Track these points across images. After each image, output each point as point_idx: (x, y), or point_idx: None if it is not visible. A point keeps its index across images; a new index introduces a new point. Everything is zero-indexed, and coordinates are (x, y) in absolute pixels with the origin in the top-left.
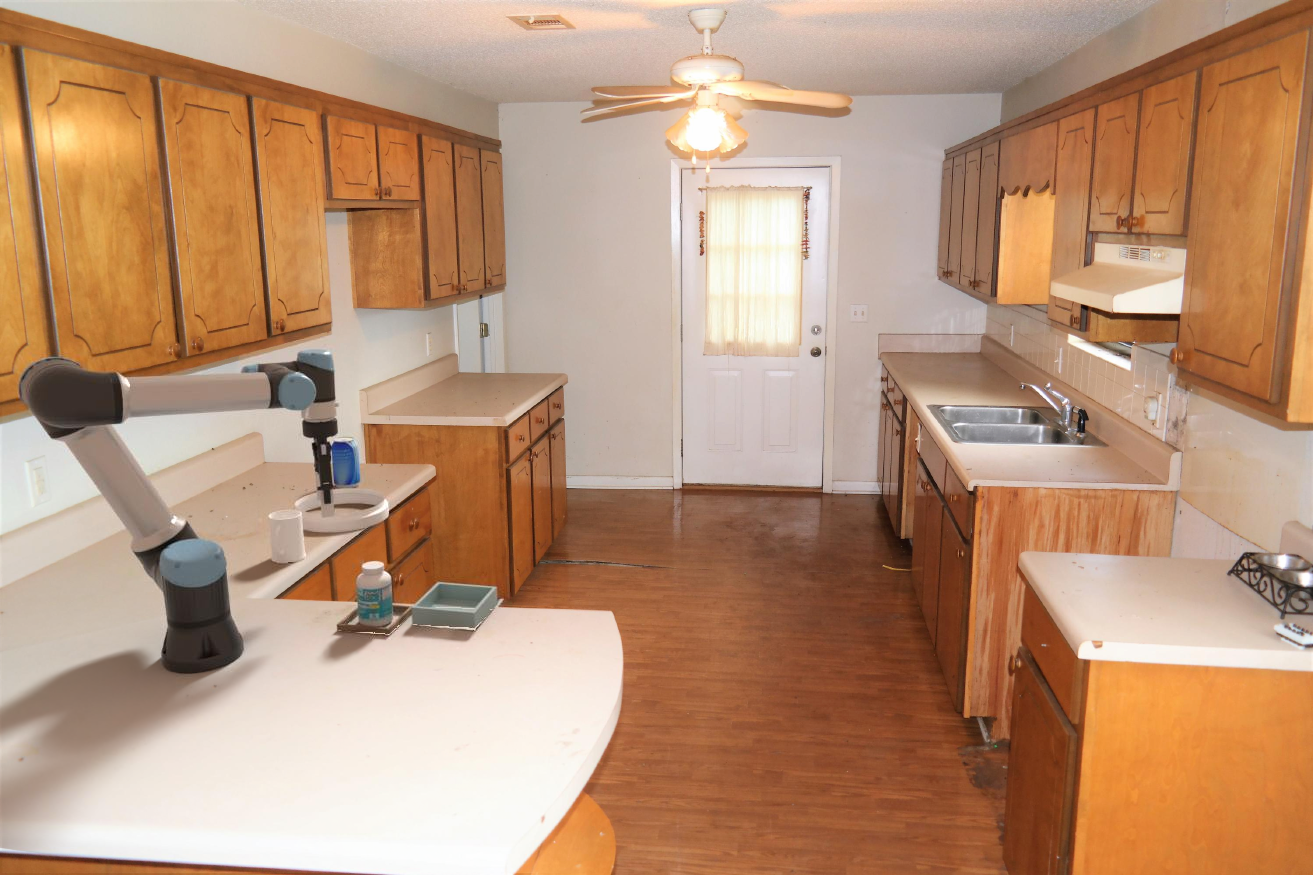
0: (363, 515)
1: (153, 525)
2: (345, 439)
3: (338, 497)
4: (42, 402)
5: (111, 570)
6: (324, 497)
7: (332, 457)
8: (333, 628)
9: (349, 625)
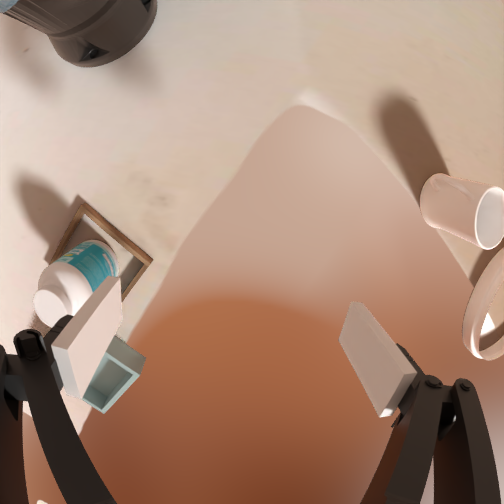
0: (475, 330)
1: None
2: None
3: None
4: None
5: (472, 8)
6: (48, 333)
7: None
8: (96, 198)
9: (71, 222)
